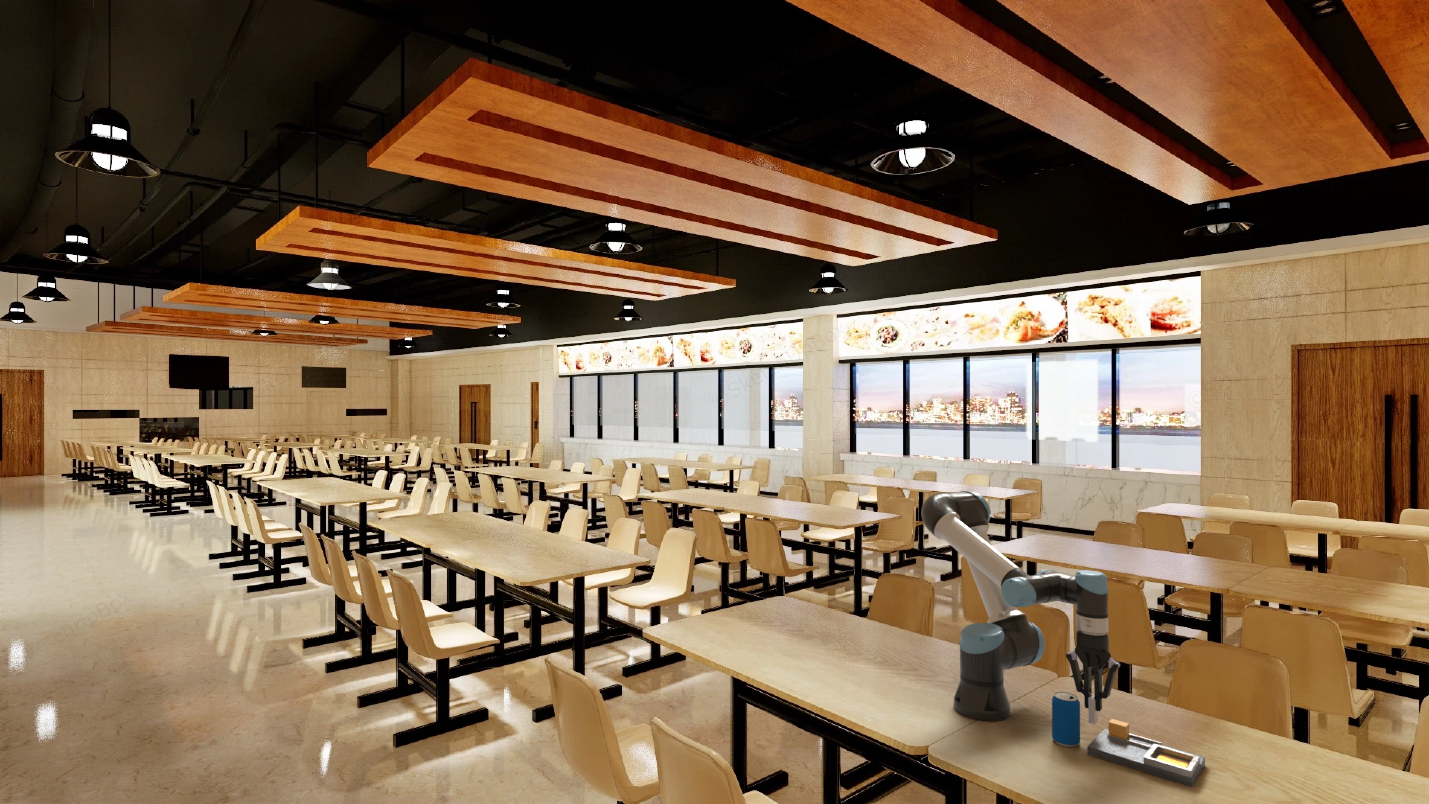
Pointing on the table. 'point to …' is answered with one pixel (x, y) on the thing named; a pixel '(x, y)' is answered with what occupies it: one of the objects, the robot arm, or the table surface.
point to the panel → (1148, 757)
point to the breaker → (1119, 728)
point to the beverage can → (1066, 719)
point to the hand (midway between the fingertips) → (1093, 721)
